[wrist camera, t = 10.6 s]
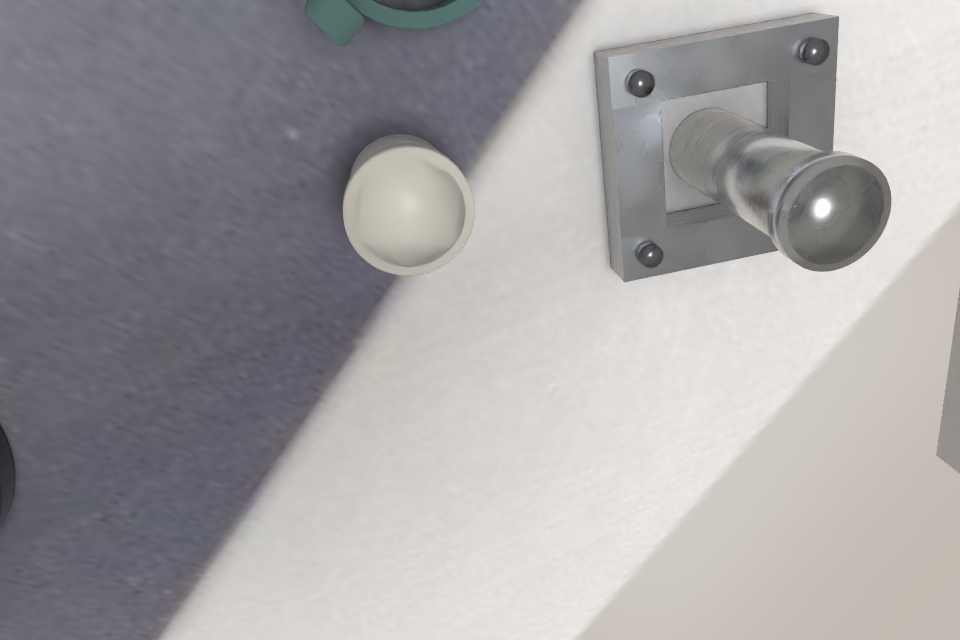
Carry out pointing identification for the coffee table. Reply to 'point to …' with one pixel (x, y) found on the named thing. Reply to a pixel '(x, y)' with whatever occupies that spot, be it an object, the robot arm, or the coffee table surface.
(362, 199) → the cup
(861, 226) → the grey cylinder
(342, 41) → the green cup holder
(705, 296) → the coffee table surface
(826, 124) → the socket
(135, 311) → the coffee table surface
